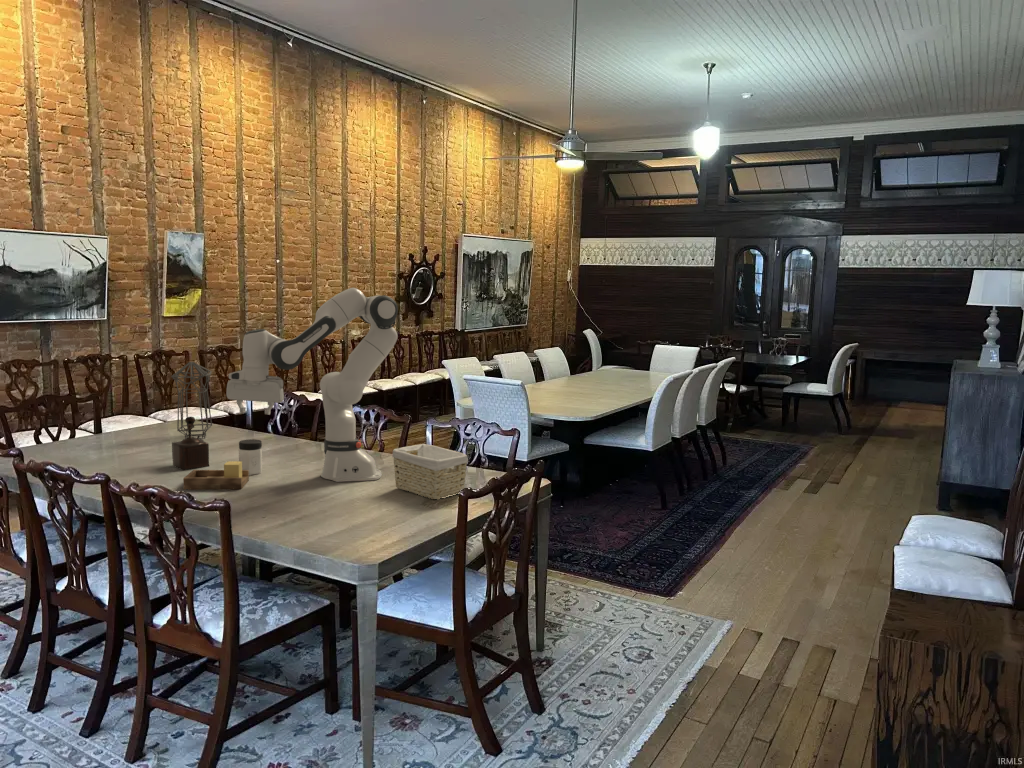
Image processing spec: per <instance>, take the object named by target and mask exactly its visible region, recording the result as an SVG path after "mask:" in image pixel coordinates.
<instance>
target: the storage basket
mask: <svg viewBox="0 0 1024 768" xmlns="http://www.w3.org/2000/svg"><path fill="white" fill-rule="evenodd" d="M415 453H416V454H415ZM391 456H392V458H393V465H394V469H393V470H394V479H395V487H396V488H397V489H399V490H402V491H406V492H408V491H409V492H408V493H413V494H415V495H417V494H418V496H419V495H421V496H420V497H423V496H424V497H423V498H427V497H428V498H427V499H430V498H431V499H430V500H433V499H440V498H442V497H446V496H448V495H453V494H456V493H457V494H458V493H459V492H460V490H461V489H463V488H464V489H465V482H466V476H467V473H466V472H467V463H469V459H468V455H467V454H465V453H462V452H459V451H455V450H452V449H447V448H443V447H441V446H437V445H431V444H427V443H426V444H425V443H422V444H421V443H420V444H415V445H409V446H403V447H398V448H394V449H393V450H392V454H391ZM440 500H441V499H440Z"/></svg>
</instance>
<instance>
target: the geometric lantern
mask: <svg viewBox="0 0 1024 768" xmlns="http://www.w3.org/2000/svg"><path fill="white" fill-rule="evenodd" d="M186 368H187V370H186V371H184V370H185V369H186ZM194 368H195V369H196V371H197V372H194ZM189 370H190V372H189ZM212 371H213V370H209V369H208V368H206V367H204V366H202V365H199V364H198V363H196V362H195V361H188V362H187V363H186V364H184V365H183V366H182V367H181V368H180V369H179V370H178V371H176V372H174V373H173V374H172V375H171V376H170V377H171V378H172V379H173V380H174V382H175V385H176V390H177V423H176V424H177V425H176V426H177V432H179V433H181V434H183V435H184V439H185V438H188V437H189V431H183V429H186V428H187V427H188V424H187V423H186V424H184V394H185V407H186V408H185V409H186V410H185V412H186V413H185V414H186V418H187V417H189V416H188V414H189V413H188V394H198V396H199V397H198V398H199V407H200V408H199V409H200V419H201V423H198V424H193V425H194V427H195V426H201V429H191V436H192V437H196V436H197V437H198V436H199V438H198V439H201V440H204V439H206V438H207V432H208V430H210V428H212V426H213V420H212V415H211V407H210V406H211V405H210V399H209V398H210V397H209V391H208V389H209V383H210V380H211V375H212V373H213V372H212ZM180 374H181V376H180ZM197 374H198V375H197ZM183 375H184V376H183ZM195 375H196V376H195ZM204 377H205V384H204V383H203V382H202V381H201V379H202V378H204ZM180 378H182V379H183V381H182V380H181V379H180ZM186 379H190V381H189V382H186ZM197 381H199V382H200V384H201V385H202V387H203V388H202V387H201V388H200V389H199V388H198V387H197V386H196V384H195V382H197ZM180 382H181V383H183V385H182V384H181V383H180ZM178 383H179V385H180V387H181V389H180V390H179V385H178ZM191 384H192V385H193V386H194V387H195V388H189V386H190V385H191ZM186 385H187V387H186V388H185V386H186ZM190 390H193V391H192V392H191V391H190ZM194 390H197V391H196V392H194ZM200 390H202V391H200ZM184 391H185V392H184ZM188 391H189V392H188ZM201 394H202V397H203V404H204V406H203V407H204V414H205V422H206V423H204V419H203V411H202V410H203V409H202V399H201ZM208 414H209V417H208ZM208 418H209V419H208ZM209 420H210V423H209ZM179 421H180V423H179ZM179 424H180V425H179ZM179 426H180V427H179ZM204 426H205V427H204ZM185 427H186V428H185ZM193 432H194V433H195V432H197V433H195V434H194V433H193ZM198 432H202V433H198ZM200 436H201V437H200Z"/></svg>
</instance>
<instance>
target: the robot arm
mask: <svg viewBox="0 0 1024 768" xmlns="http://www.w3.org/2000/svg"><path fill="white" fill-rule="evenodd" d="M398 312H399V306H398V304H397V302H396V300H395V299H393V298H392V297H390V296H388V295H385V294H384V295H382V294H381V295H374V296H366V295H365V294H364V293H363V292H362V291H361V290H360V289H358V288H357V287H349V288H347V289H344V290H342V291H341V292H339V293H337V294H336V295H334V296H332V297H330V298H329V299H328V300H327V301H326V302H324V303H323V304H322V305H321V306H320V307H319V308H318V309H317V310H316V313H315V318H314V322H313V323H312V324H311V325H310V326H309V327H307V329H305V330H304V331H303V332H301V333H300V334H298V335H297V336H296V337H294V338H292V339H285V338H282V337H279V336H278V335H277V336H276V335H275V334H272V333H271V332H269V331H268V330H267V329H265V328H260V329H259V328H258V329H256V328H255V329H251V330H249V331H247V332H246V333H244V335H243V340H242V341H243V342H242V359H243V362H242V369H241V370H240V369H239V370H237V371H233V372H230V373H228V379H229V380H228V381H227V384H226V393H225V394H226V397H227V399H228V400H231V401H232V400H234V401H235V400H236V405H237V406H238V409H239V413H243V414H244V413H246V412H247V411H246V409H247V408H246V407H244V405H243V402H244V401H248V402H261V403H267V406H268V407H267V408H266V409H264V415H269V416H270V415H271V413H272V412H271V410H272V408H273V407H274V405H275V404H279V403H282V402H283V401H284V399H285V395H284V380H283V379H282V378H281V377H279V376H273V375H269V374H270V373H269V371H270V370H269V369H270V368H269V367H270V366H269V365H271V364H272V365H275V366H276V367H278V368H279V369H281V370H284V371H290V370H293V369H295V368H297V367H298V366H299V365H300V364H301V362H302V361H303V359H304V357H305V356H306V355H307V353H308V352H309V351H311V350H312V349H313V348H314V347H315V346H317V345H318V344H319V343H321V341H323V340H324V339H325V338H327V337H328V336H330V335H332V334H334V333H335V332H337V331H338V330H340V329H342V328H343V327H345V326H346V325H348V324H349V323H350V322H351V321H353V320H355V319H356V318H360V319H361V320H362V321H363V322H365V323H366V324H369V325H370V328H369V330H368V332H367V334H366V335H365V336H364V337H363V338H362V339H361V341H360V342H359V343H358V344H357V345H356V346H355V348H354V349H353V350H352V351H351V353H349V355H348V359H347V361H346V363H345V364H344V367H342V370H341V371H340V372H339V371H331V372H328V373H326V374H325V375H323V376H322V377H321V380H320V382H319V388H320V392H321V396H322V397H321V398H322V404H323V410H324V418H325V439H324V442H323V453H324V460H323V467H322V472H321V475H320V476H321V478H322V479H326V480H330V481H334V482H337V483H338V482H339V483H341V482H359V481H360V482H361V481H365V482H366V481H376V480H379V479H380V478H381V477H382V475H383V474H382V471H381V470H380V469H378V468H377V466H376V461H375V458H374V457H373V456H371V455H370V454H369V453H367V452H366V451H365V450H364V449H362V442H361V439H358V438H357V435H356V434H357V433H356V431H357V429H356V425H357V423H356V422H357V420H356V416H355V412H354V410H353V409H354V408H353V405H355V404H357V403H358V402H360V401H361V399H362V397H363V394H364V390H365V387H366V386H367V384H368V382H369V380H370V379H371V377H372V375H373V374H374V372H375V371H376V370H377V369H378V367H379V366H380V365H381V364H382V363H383V362H384V360H385V359H386V358H387V356H389V353H390V352H391V351H392V349H393V347H395V345H396V343H397V341H398V337H399V336H398V332H397V330H396V329H395V328H394V327H395V325H396V322H397V321H396V320H397V316H398Z"/></svg>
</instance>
